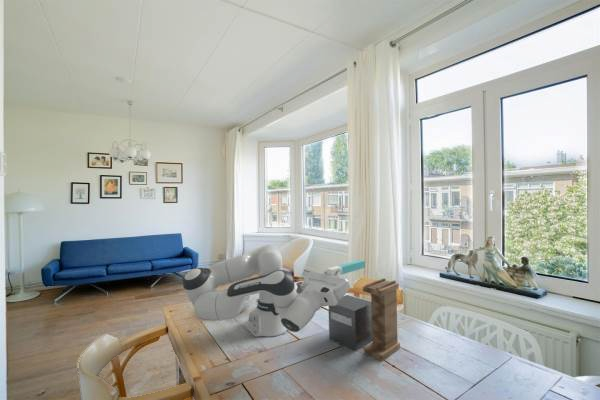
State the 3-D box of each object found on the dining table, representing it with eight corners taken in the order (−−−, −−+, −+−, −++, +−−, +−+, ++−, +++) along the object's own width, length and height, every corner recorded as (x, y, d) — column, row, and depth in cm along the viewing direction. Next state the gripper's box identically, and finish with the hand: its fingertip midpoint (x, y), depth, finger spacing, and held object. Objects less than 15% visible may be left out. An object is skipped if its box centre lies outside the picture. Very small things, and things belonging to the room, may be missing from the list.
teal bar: (326, 276, 112) (326, 268, 112) (359, 266, 127) (359, 259, 127) (332, 277, 110) (332, 269, 110) (365, 267, 124) (364, 260, 124)
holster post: (364, 352, 109) (362, 284, 109) (382, 341, 118) (380, 277, 118) (382, 361, 103) (380, 288, 104) (400, 348, 112) (398, 281, 112)
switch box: (328, 339, 121) (327, 302, 121) (347, 329, 130) (347, 294, 130) (355, 351, 110) (354, 311, 110) (374, 339, 119) (373, 302, 119)
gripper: (300, 293, 114) (320, 271, 122) (339, 306, 99) (359, 280, 107) (294, 282, 112) (315, 260, 120) (333, 293, 97) (353, 267, 105)
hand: (336, 269), depth 114 cm, fingers closed on teal bar, 3 cm apart
